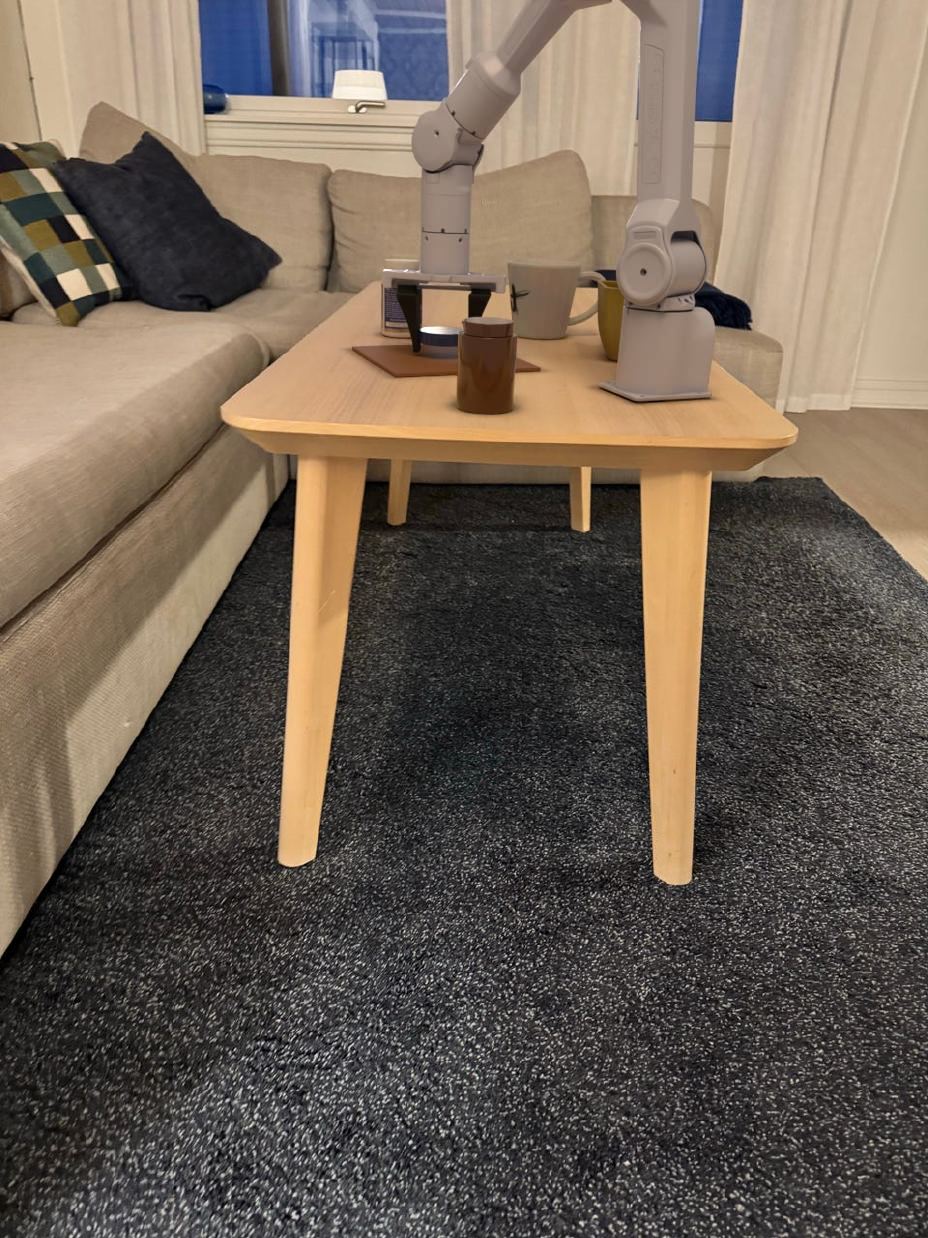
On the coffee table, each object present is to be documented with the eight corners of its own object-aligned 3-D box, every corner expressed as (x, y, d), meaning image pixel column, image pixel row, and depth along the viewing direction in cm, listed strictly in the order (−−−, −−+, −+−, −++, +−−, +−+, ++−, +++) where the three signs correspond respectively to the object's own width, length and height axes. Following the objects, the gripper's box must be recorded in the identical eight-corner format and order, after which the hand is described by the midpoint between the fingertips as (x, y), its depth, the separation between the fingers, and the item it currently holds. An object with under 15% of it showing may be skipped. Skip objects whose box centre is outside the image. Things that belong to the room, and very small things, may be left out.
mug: (498, 329, 136) (501, 257, 131) (595, 331, 137) (602, 260, 133) (509, 340, 126) (513, 263, 122) (613, 342, 128) (621, 266, 124)
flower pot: (656, 354, 120) (665, 282, 116) (668, 366, 112) (678, 289, 109) (590, 351, 120) (597, 279, 117) (597, 363, 113) (604, 286, 109)
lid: (437, 336, 114) (438, 324, 114) (477, 342, 111) (478, 330, 111) (408, 342, 110) (408, 329, 109) (448, 348, 107) (449, 335, 106)
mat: (481, 345, 122) (481, 342, 122) (540, 370, 107) (540, 367, 107) (351, 349, 116) (351, 346, 116) (395, 377, 101) (395, 373, 101)
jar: (498, 399, 92) (503, 315, 89) (522, 412, 88) (528, 324, 84) (447, 402, 90) (449, 316, 87) (469, 415, 86) (472, 325, 82)
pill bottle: (429, 337, 127) (431, 260, 123) (394, 339, 124) (394, 261, 120) (408, 331, 131) (409, 257, 127) (373, 333, 128) (373, 257, 124)
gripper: (377, 231, 102) (378, 355, 108) (506, 236, 101) (499, 361, 107) (387, 228, 108) (388, 345, 114) (509, 233, 107) (502, 351, 113)
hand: (442, 352), depth 111 cm, fingers closed on lid, 6 cm apart
